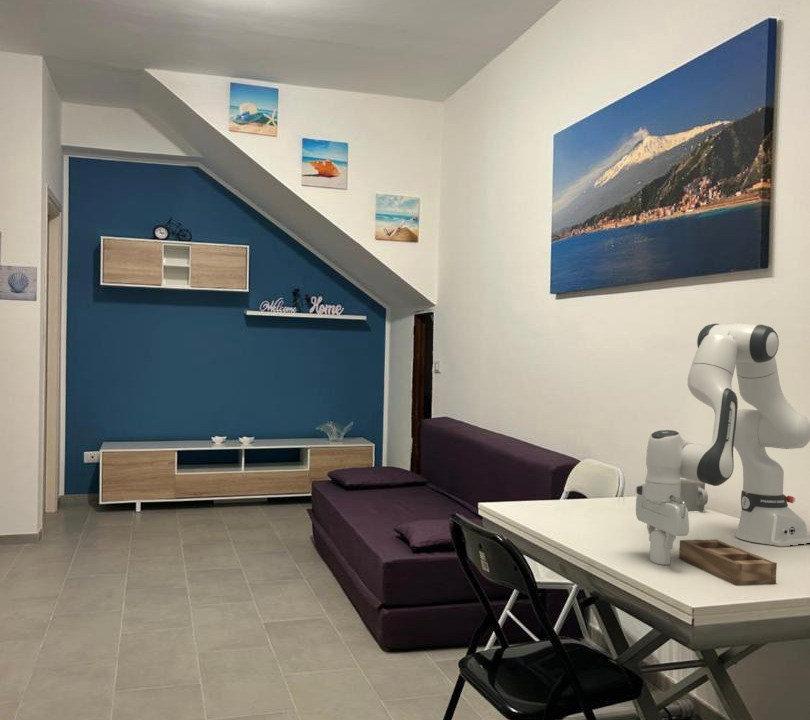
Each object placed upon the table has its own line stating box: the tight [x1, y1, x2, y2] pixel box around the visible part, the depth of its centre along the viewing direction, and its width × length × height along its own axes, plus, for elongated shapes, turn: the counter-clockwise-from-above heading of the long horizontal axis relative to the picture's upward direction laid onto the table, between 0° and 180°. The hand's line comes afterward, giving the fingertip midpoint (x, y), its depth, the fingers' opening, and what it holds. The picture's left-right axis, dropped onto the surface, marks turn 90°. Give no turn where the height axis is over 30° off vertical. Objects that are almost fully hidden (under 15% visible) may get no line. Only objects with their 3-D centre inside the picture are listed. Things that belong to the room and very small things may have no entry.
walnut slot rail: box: [678, 539, 778, 586], centre depth 200 cm, size 11×24×5 cm, turn 13°
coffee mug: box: [680, 478, 709, 512], centre depth 282 cm, size 13×10×10 cm
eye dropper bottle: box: [649, 528, 672, 566], centre depth 206 cm, size 4×6×12 cm
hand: (660, 545), depth 206 cm, fingers closed on eye dropper bottle, 6 cm apart
